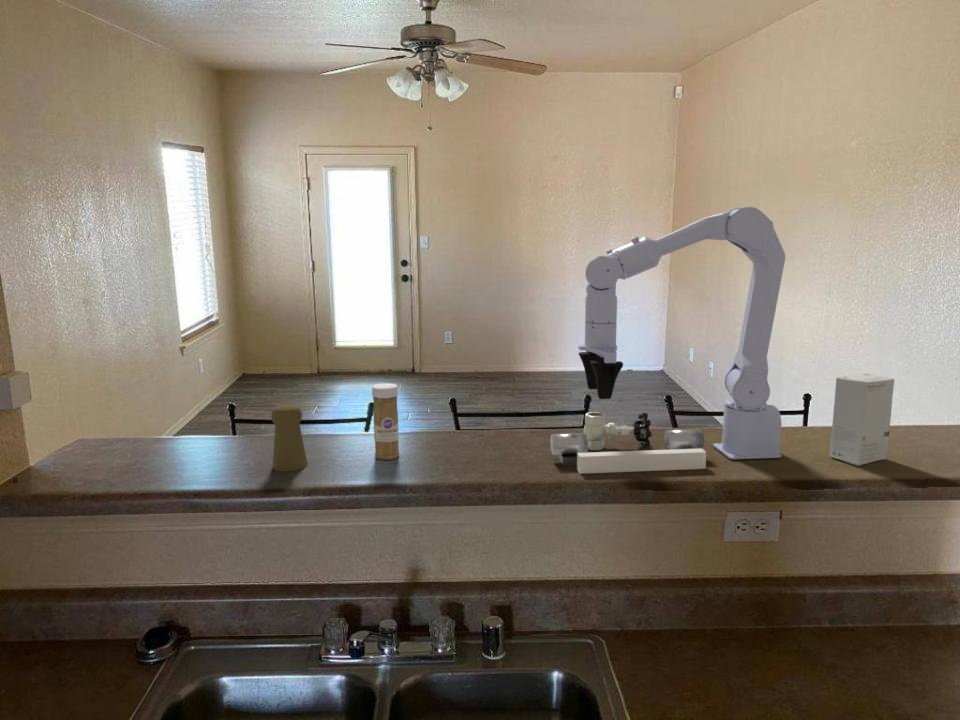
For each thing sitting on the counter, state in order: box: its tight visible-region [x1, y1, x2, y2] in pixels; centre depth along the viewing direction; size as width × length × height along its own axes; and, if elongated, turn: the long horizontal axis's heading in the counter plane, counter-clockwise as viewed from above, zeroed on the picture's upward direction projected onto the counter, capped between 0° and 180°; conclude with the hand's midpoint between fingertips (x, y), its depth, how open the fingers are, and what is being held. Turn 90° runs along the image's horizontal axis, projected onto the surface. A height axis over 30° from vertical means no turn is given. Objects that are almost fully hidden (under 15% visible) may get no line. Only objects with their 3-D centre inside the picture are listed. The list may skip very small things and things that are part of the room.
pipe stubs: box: [550, 428, 705, 466], centre depth 124 cm, size 27×4×5 cm, turn 95°
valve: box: [583, 411, 652, 451], centre depth 131 cm, size 7×7×12 cm
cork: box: [270, 403, 309, 473], centre depth 122 cm, size 6×6×11 cm
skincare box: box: [829, 373, 895, 467], centre depth 123 cm, size 8×6×15 cm
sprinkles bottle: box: [371, 382, 400, 460], centre depth 126 cm, size 5×5×13 cm
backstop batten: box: [576, 448, 707, 475], centre depth 119 cm, size 22×2×3 cm, turn 95°
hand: (599, 393), depth 130 cm, fingers open, 7 cm apart
